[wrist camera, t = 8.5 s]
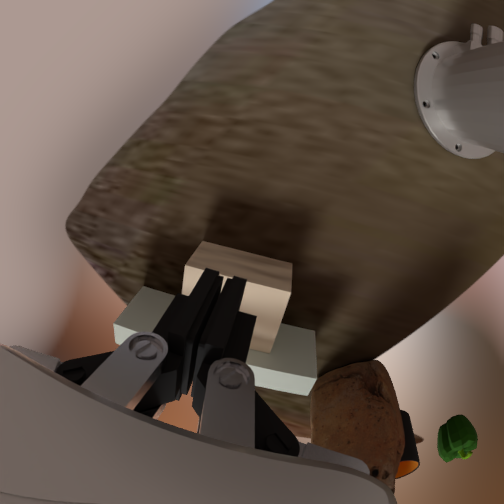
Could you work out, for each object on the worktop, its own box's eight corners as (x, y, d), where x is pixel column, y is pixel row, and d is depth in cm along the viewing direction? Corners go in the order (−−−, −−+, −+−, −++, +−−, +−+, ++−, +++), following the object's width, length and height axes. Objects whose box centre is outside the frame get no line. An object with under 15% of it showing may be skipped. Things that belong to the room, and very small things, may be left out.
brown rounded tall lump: (327, 402, 42) (328, 521, 24) (306, 375, 39) (300, 509, 21) (393, 377, 38) (418, 498, 20) (378, 346, 36) (408, 484, 18)
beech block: (202, 240, 33) (185, 265, 28) (292, 262, 33) (291, 292, 27) (194, 299, 37) (178, 329, 31) (274, 319, 36) (269, 353, 31)
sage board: (143, 286, 37) (113, 323, 29) (314, 330, 36) (317, 378, 29) (143, 304, 38) (115, 343, 31) (307, 348, 37) (307, 395, 30)
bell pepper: (449, 435, 44) (459, 472, 35) (425, 432, 44) (435, 472, 35) (477, 411, 41) (491, 449, 32) (455, 406, 40) (470, 449, 31)
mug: (338, 432, 45) (339, 481, 36) (398, 403, 40) (409, 455, 31) (360, 446, 47) (363, 491, 37) (415, 420, 42) (426, 467, 33)
